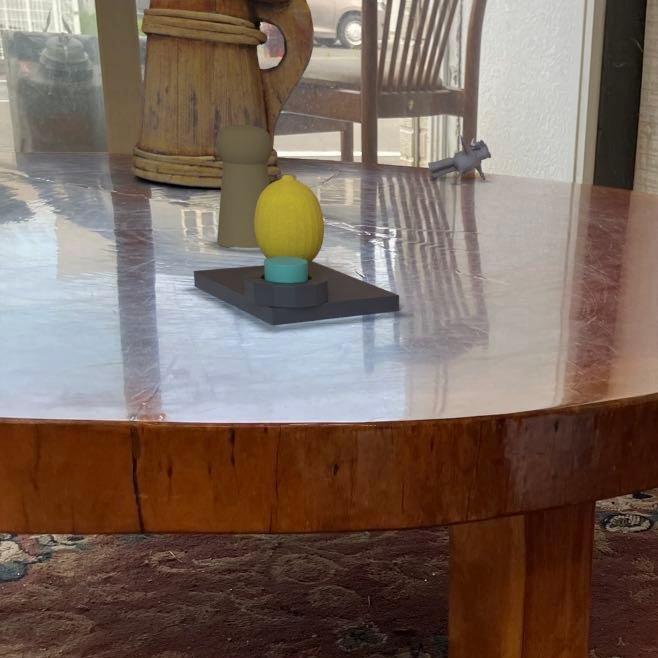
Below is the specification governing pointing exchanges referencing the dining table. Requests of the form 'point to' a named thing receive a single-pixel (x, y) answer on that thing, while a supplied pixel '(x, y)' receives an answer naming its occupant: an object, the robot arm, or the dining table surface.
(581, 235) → the dining table surface
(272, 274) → the button
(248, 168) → the cork
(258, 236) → the lemon
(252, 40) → the tankard
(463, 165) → the grey branched piece
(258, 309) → the dark button base
